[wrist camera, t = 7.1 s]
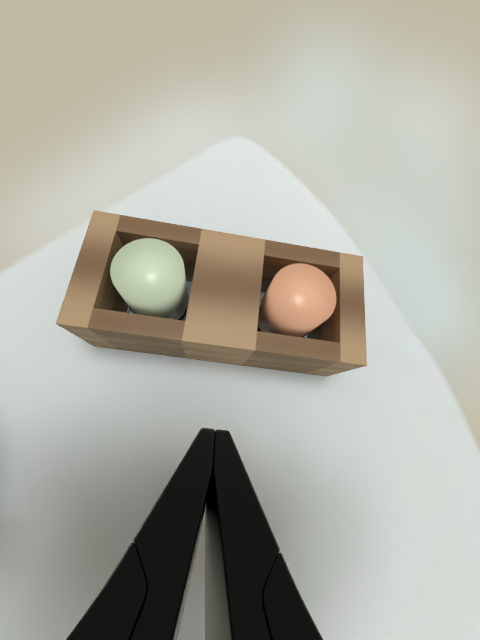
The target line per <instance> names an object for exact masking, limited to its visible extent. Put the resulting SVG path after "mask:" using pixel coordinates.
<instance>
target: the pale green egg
mask: <svg viewBox="0 0 480 640" xmlns="http://www.w3.org/2000/svg"><path fill="white" fill-rule="evenodd" d="M110 275H111V280H112V282H113V285H114V286H115V288H116V289H117V291H118V292H119V293H120V295H121V296H122V298H123V299H124V300H125V302H126V303H127V305H128V306H129V308H130V309H131V310H132V312H133V313H134V314H139V315H146V316H154V317H161V318H168V319H175V320H178V319H179V318H180V317H181V316H182V315H183V314H184V312H185V310H186V308H187V305H188V293H187V285H186V277H185V269H184V262H183V260H182V257H181V255H180V254H179V252H178V251H177V250H176V249H175V248H174V247H173V246H172V245H170V244H168V243H167V242H164V241H162V240H158V239H152V238H144V239H138V240H135V241H132V242H130V243H128V244H126V245H125V246H123V247H122V248H121V249H120V250H119V251H118V252H117V253H116V255H115V256H114V258H113V260H112V263H111V267H110Z"/></svg>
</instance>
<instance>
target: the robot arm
mask: <svg viewBox="0 0 480 640" xmlns="http://www.w3.org/2000/svg"><path fill="white" fill-rule="evenodd" d="M205 506H206V509H205ZM204 511H205V640H323V638H322V637H321V635H320V633H319V631H318V629H317V627H316V625H315V623H314V621H313V619H312V617H311V615H310V614H309V612H308V610H307V608H306V606H305V604H304V602H303V600H302V598H301V596H300V594H299V591H298V589H297V587H296V585H295V583H294V580H293V578H292V576H291V574H290V572H289V569H288V567H287V565H286V562H285V560H284V558H283V555H282V553H279V551H280V549H279V546H278V544H277V542H276V539H275V537H274V535H273V532H272V530H271V528H270V525H269V523H268V521H267V518H266V516H265V514H264V511H263V509H262V507H261V504H260V502H259V500H258V497H257V495H256V493H255V490H254V488H253V486H252V483H251V481H250V479H249V476H248V474H247V472H246V469H245V467H244V465H243V462H242V460H241V458H240V455H239V453H238V451H237V448H236V446H235V444H234V441H233V439H232V437H231V434H230V432H229V431H227V430H216V431H215V430H214V429H208V428H202V429H201V430H200V431H199V433H198V434H197V436H196V438H195V439H194V441H193V443H192V444H191V446H190V448H189V449H188V451H187V453H186V454H185V456H184V458H183V459H182V461H181V462H180V464H179V466H178V467H177V469H176V471H175V472H174V474H173V476H172V477H171V479H170V481H169V482H168V484H167V486H166V487H165V489H164V491H163V492H162V494H161V495H160V497H159V499H158V500H157V502H156V504H155V505H154V507H153V509H152V510H151V512H150V514H149V515H148V517H147V519H146V520H145V522H144V524H143V525H142V527H141V528H140V530H139V532H138V533H137V535H136V537H135V538H134V543H131V545H130V546H129V548H128V550H127V551H126V553H125V555H124V556H123V558H122V559H121V561H120V563H119V564H118V566H117V567H116V569H115V570H114V572H113V574H112V575H111V577H110V578H109V580H108V581H107V583H106V584H105V586H104V588H103V589H102V590H101V592H100V593H99V595H98V596H97V598H96V599H95V600H94V602H93V603H92V605H91V606H90V608H89V609H88V610H87V612H86V613H85V615H84V616H83V617H82V619H81V620H80V622H79V623H78V624H77V626H76V627H75V628H74V630H73V631H72V632H71V634H70V635H69V636H68V638H67V639H66V640H177V637H178V632H179V628H180V623H181V619H182V614H183V609H184V605H185V600H186V595H187V591H188V586H189V582H190V577H191V572H192V568H193V563H194V558H195V554H196V549H197V545H198V540H199V535H200V531H201V526H202V521H203V516H204ZM278 553H279V554H278Z"/></svg>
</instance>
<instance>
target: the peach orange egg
mask: <svg viewBox="0 0 480 640" xmlns="http://www.w3.org/2000/svg"><path fill="white" fill-rule="evenodd" d="M335 306H336V292H335V288H334V286H333V284H332V282H331V280H330V279H329V278H328V276H327V275H326V274H325V273H324V272H322V271H321V270H319V269H318V268H316V267H314V266H311V265H308V264H302V263H296V264H291V265H288V266H286V267H284V268H282V269H281V270H280V271H279V272H278V273H277V274H276V275H275V277H274V278H273V280H272V282H271V284H270V286H269V288H268V289H267V291H266V293H265V295H264V297H263V299H262V300H261V302H260V304H259V315H258V327H259V329H260V330H261V332H267V333H274V334H281V335H288V336H295V337H304V336H305V335H306V334H308V333H309V332H311V331H312V330H313V329H315V328H316V327H317V326H319V325H320V324H322V323H323V322H324V321H326V320H327V319H328V318H329V317H330V316H331V315H332V313H333V311H334V309H335Z"/></svg>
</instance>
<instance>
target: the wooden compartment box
mask: <svg viewBox="0 0 480 640" xmlns="http://www.w3.org/2000/svg"><path fill="white" fill-rule="evenodd" d="M144 238H152V239H158V240H162V241H164V242H167V243H168V244H170V245H172V246H173V247H174V248H175V249H176V250H177V251H178V252H179V254H180V255H181V257H182V260H183V262H184V269H185V277H186V280H187V281H192V287H191V292H190V298H189V303H188V309H187V315H186V320H185V321H182V320H175V319H168V318H161V317H154V316H146V315H139V314H132V313H126V311H127V307H128V305H127V303H126V302H125V300H124V299H123V298H122V296H121V295H120V293H119V292H118V291H117V289H116V288H115V286H114V285H113V282H112V280H111V275H110V267H111V263H112V260H113V258H114V256H115V255H116V253H117V252H118V251H119V250H120V249H121V248H122V247H123V246H125V245H126V244H128V243H130V242H132V241H135V240H138V239H144ZM296 263H302V264H308V265H311V266H314V267H316V268H318V269H319V270H321V271H322V272H324V273H325V274H326V275H327V276H328V278H329V279H330V280H331V282H332V284H333V286H334V288H335V292H336V306H335V309H334V311H333V313H332V315H331V316H330V317H329V318H328V319H327V320H326V321H324V322H323V323H322V324H320V325H319V326H317V327H316V328H315V329H313V330H312V331H311V332H309V333H308V338H302V337H295V336H288V335H281V334H274V333H267V332H260V331H257V326H258V315H259V304H260V294H261V292H265V293H266V291H267V289H268V288H269V286H270V284H271V282H272V280H273V278H274V277H275V275H276V274H277V273H278V272H279V271H280V270H281V269H282V268H284V267H286V266H288V265H291V264H296ZM56 324H57V325H59V326H61V327H62V328H64V329H66V330H68V331H69V332H71V333H73V334H74V335H76V336H78V337H79V338H81V339H83V340H85V341H86V342H88V343H90V344H91V345H93V346H98V347H106V348H113V349H121V350H129V351H136V352H144V353H152V354H160V355H167V356H175V357H183V358H190V359H198V360H206V361H214V362H221V363H229V364H237V365H244V366H252V367H260V368H268V369H275V370H283V371H291V372H298V373H306V374H314V375H322V376H330V375H333V374H337V373H341V372H345V371H348V370H352V369H356V368H359V367H363V366H367V361H366V334H365V306H364V279H363V256H357V255H351V254H345V253H339V252H334V251H328V250H322V249H316V248H310V247H304V246H298V245H293V244H287V243H281V242H275V241H269V240H263V239H258V238H252V237H246V236H240V235H234V234H228V233H223V232H217V231H211V230H205V229H199V228H193V227H187V226H182V225H176V224H170V223H164V222H158V221H152V220H147V219H141V218H135V217H129V216H123V215H117V214H112V213H106V212H100V211H93V214H92V217H91V220H90V223H89V226H88V229H87V232H86V235H85V238H84V241H83V244H82V247H81V250H80V253H79V256H78V259H77V262H76V265H75V268H74V271H73V274H72V277H71V280H70V283H69V286H68V289H67V292H66V295H65V298H64V301H63V304H62V307H61V310H60V313H59V316H58V319H57V322H56Z"/></svg>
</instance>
